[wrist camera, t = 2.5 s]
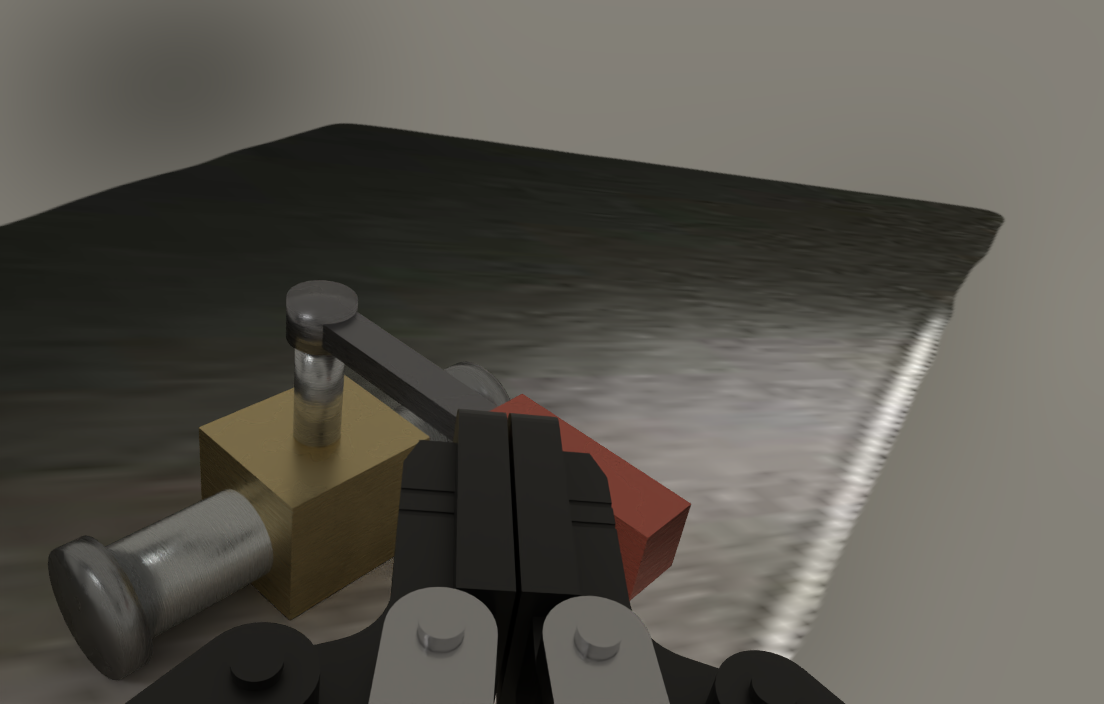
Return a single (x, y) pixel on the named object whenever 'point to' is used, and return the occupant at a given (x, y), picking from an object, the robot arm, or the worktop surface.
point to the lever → (435, 396)
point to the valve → (256, 515)
